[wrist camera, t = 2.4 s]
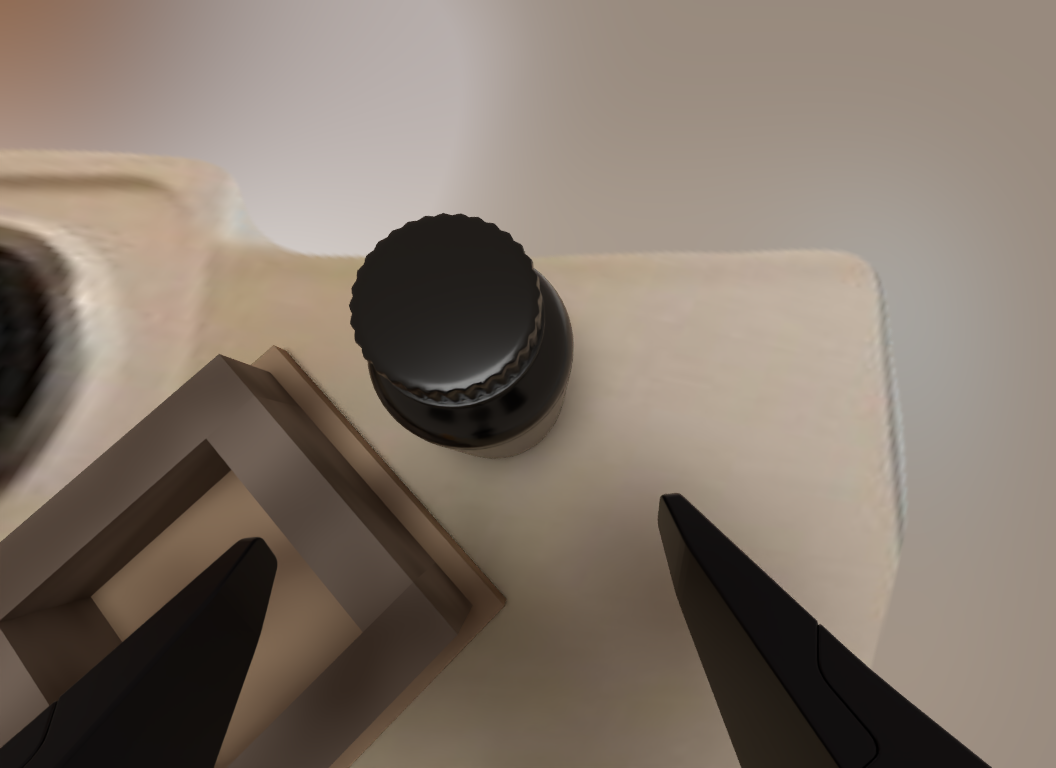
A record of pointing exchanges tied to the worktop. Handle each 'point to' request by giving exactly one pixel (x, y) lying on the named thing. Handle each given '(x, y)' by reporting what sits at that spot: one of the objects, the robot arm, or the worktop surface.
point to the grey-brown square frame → (217, 524)
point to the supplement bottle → (463, 336)
